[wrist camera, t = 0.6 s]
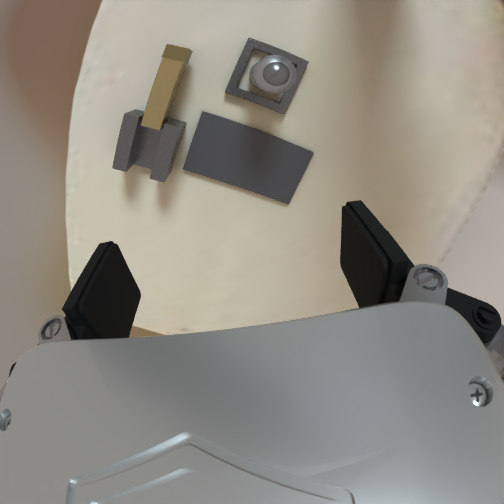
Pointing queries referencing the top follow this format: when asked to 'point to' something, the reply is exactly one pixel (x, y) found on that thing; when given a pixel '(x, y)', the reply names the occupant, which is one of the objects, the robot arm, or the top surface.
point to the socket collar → (258, 99)
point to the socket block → (148, 145)
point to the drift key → (165, 86)
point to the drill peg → (273, 74)
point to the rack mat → (246, 157)
